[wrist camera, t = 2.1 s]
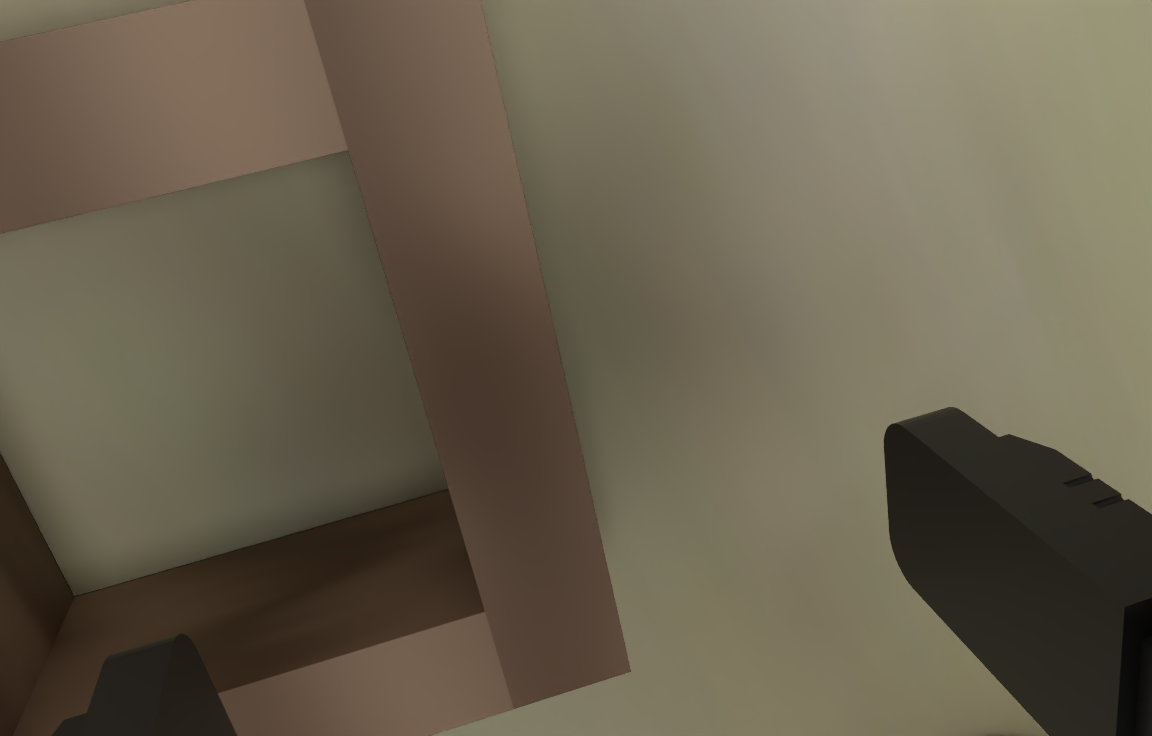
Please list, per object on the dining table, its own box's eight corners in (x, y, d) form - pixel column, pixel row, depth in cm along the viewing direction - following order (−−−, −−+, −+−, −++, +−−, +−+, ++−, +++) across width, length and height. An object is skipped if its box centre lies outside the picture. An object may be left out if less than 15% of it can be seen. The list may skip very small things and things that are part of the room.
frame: (437, -50, 18) (466, -60, 14) (577, 542, 24) (630, 671, 20) (-340, 119, 17) (-594, 169, 12) (8, 712, 22) (-77, 897, 18)
